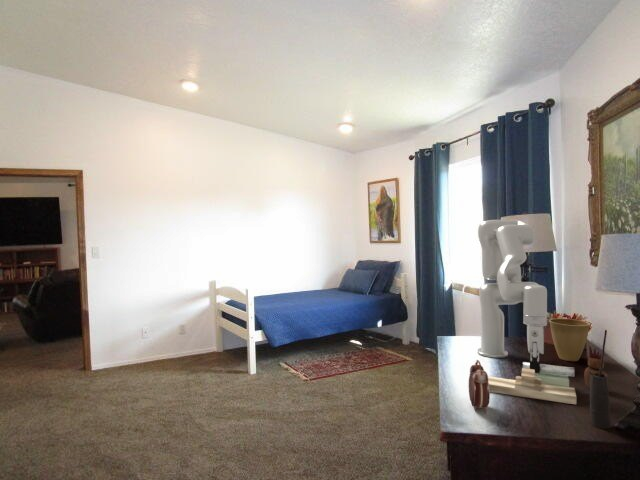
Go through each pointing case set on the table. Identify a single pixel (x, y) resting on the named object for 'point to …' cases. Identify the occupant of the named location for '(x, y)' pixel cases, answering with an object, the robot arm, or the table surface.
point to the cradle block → (553, 379)
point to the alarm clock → (479, 387)
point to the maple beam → (532, 388)
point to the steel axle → (553, 369)
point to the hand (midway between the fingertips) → (534, 370)
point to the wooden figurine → (593, 365)
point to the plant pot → (569, 337)
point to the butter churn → (599, 397)
